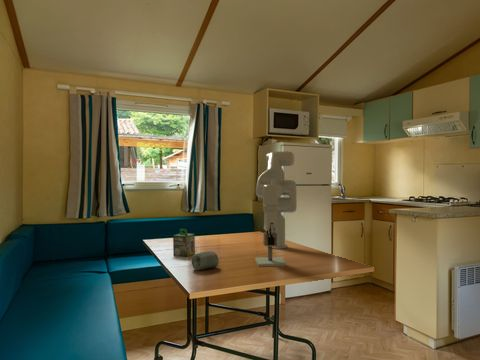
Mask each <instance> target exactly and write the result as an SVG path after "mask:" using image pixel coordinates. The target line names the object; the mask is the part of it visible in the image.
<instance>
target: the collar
mask: <svg viewBox="0 0 480 360" xmlns="http://www.w3.org/2000/svg"><path fill="white" fill-rule="evenodd" d="M268 237H269V234H268V232H266V231H264V232H263V245H264V246H265V247H268V246H277V234H276V233H275V232H274V245H268Z"/></svg>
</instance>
